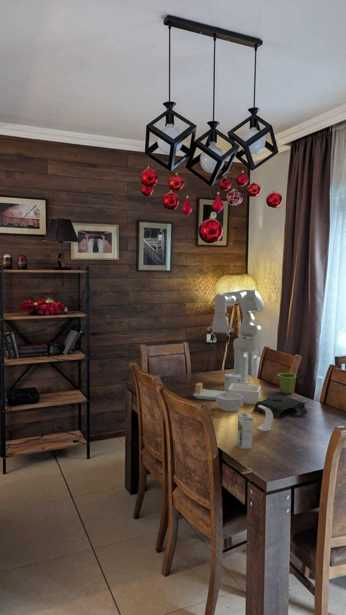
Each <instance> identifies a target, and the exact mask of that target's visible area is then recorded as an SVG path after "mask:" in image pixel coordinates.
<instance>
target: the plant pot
mask: <svg viewBox="0 0 346 615" xmlns="http://www.w3.org/2000/svg"><path fill="white" fill-rule="evenodd" d="M277 376H278V380H279V386H280V387H279V388H280V392H281V393H282V394H283V393H284V394H292V393H293V390H294V385H295V381H296V377H297V375H296V374H294V373H290V372H289V373H288V372H283V373H278V374H277Z"/></svg>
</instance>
